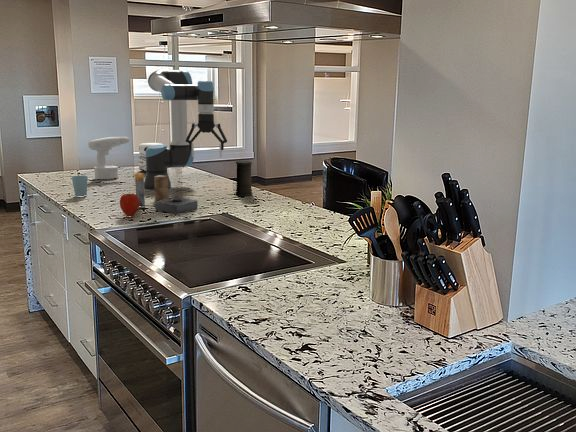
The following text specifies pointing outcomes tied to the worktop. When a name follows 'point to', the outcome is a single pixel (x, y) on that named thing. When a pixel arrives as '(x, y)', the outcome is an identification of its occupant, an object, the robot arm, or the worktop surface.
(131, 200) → the apple
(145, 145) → the milk container
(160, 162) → the robot arm
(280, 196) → the worktop surface
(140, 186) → the round bit
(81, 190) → the cup
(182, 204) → the holder plate
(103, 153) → the power drill
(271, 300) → the worktop surface
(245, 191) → the container
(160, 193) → the square bit
